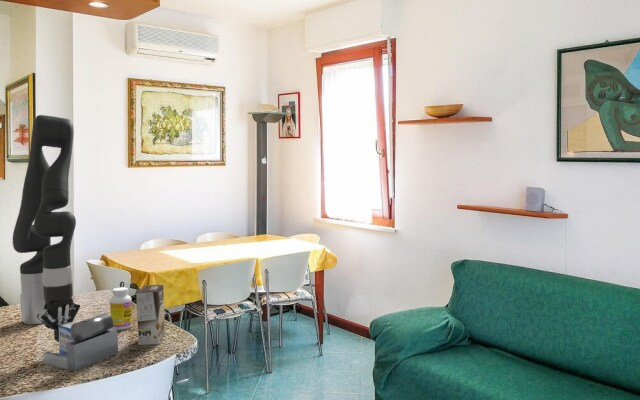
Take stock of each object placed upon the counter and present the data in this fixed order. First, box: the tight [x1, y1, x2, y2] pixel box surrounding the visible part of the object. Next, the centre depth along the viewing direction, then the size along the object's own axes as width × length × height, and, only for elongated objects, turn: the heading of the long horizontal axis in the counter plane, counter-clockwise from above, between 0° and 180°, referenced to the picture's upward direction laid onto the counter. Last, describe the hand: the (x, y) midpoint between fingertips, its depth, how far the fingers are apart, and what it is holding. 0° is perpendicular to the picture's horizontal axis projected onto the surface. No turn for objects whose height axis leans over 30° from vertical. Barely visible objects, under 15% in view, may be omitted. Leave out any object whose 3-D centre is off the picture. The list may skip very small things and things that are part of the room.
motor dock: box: [43, 312, 119, 372], centre depth 155 cm, size 14×14×12 cm
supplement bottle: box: [109, 286, 133, 331], centre depth 182 cm, size 7×7×13 cm
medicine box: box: [58, 321, 75, 356], centre depth 157 cm, size 8×4×9 cm, turn 58°
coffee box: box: [135, 284, 166, 346], centre depth 169 cm, size 9×6×16 cm
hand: (60, 341), depth 159 cm, fingers closed
